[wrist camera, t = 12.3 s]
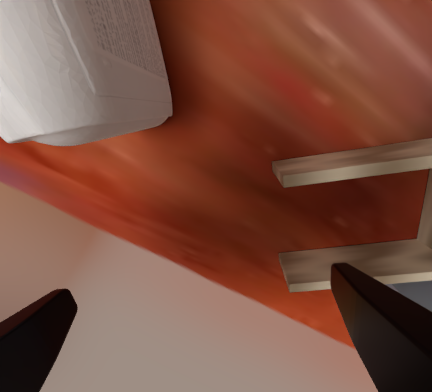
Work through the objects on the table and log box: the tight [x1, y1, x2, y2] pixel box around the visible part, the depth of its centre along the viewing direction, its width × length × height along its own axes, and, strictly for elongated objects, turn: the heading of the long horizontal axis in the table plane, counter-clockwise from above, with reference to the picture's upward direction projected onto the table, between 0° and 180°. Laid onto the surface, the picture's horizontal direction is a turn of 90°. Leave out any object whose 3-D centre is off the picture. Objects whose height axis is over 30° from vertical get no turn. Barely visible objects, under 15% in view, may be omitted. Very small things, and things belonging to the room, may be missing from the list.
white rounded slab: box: [0, 0, 173, 146], centre depth 10 cm, size 10×4×12 cm, turn 11°
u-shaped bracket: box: [272, 138, 432, 292], centre depth 17 cm, size 13×10×4 cm
